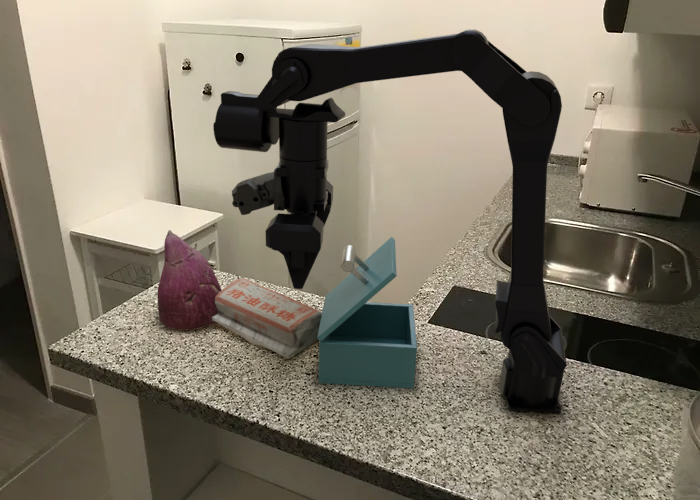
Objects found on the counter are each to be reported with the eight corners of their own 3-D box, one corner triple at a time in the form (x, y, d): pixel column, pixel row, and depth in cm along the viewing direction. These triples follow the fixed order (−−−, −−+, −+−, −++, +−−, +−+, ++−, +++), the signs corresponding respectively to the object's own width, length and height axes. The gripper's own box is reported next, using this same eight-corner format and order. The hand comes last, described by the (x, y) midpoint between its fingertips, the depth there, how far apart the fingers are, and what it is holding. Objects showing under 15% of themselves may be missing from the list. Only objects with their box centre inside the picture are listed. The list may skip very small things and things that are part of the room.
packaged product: (333, 304, 86) (289, 332, 78) (332, 332, 88) (288, 362, 80) (245, 267, 95) (198, 290, 87) (246, 293, 97) (199, 317, 89)
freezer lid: (395, 240, 80) (370, 215, 79) (396, 276, 69) (367, 249, 68) (328, 299, 84) (303, 277, 83) (320, 341, 74) (292, 317, 72)
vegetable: (153, 335, 92) (112, 249, 86) (203, 302, 98) (168, 220, 93) (191, 342, 85) (149, 249, 80) (242, 306, 92) (207, 218, 86)
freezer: (410, 341, 86) (413, 304, 84) (413, 388, 76) (417, 348, 73) (326, 336, 87) (326, 299, 84) (318, 383, 76) (318, 342, 74)
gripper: (252, 135, 79) (256, 241, 85) (216, 173, 62) (223, 303, 68) (334, 139, 78) (332, 245, 85) (321, 179, 61) (319, 308, 68)
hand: (302, 272), depth 76 cm, fingers open, 9 cm apart
